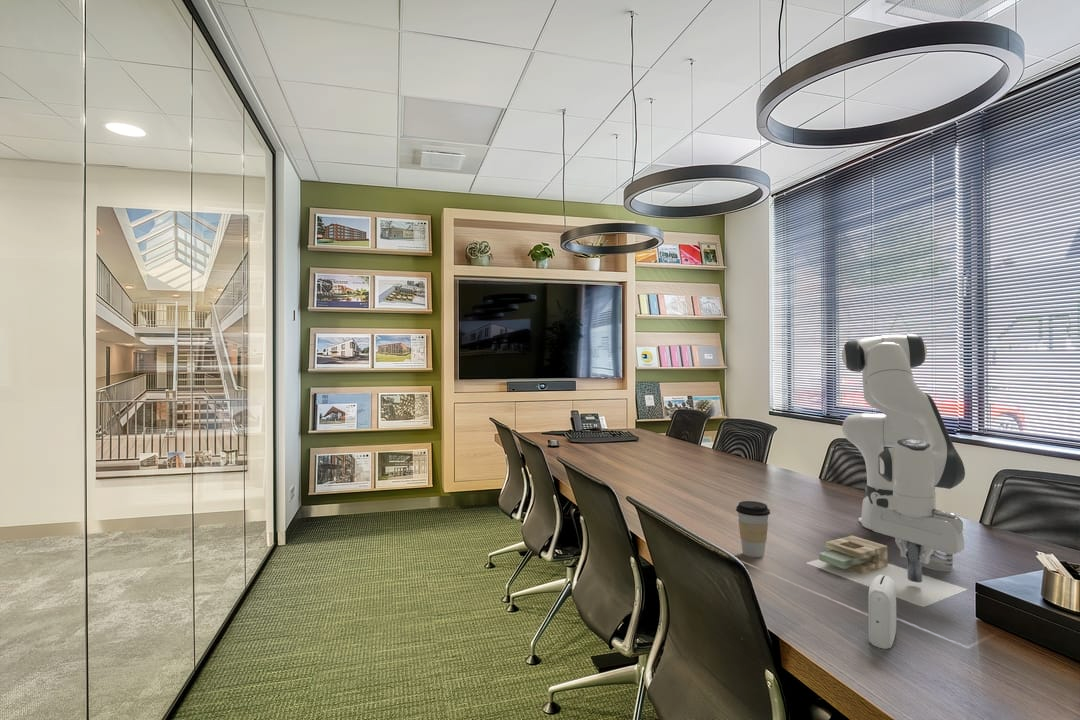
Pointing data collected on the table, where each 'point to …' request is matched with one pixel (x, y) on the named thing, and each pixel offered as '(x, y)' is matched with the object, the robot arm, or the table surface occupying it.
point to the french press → (939, 560)
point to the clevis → (855, 554)
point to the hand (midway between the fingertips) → (914, 559)
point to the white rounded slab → (882, 611)
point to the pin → (914, 562)
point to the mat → (899, 583)
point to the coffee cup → (753, 527)
